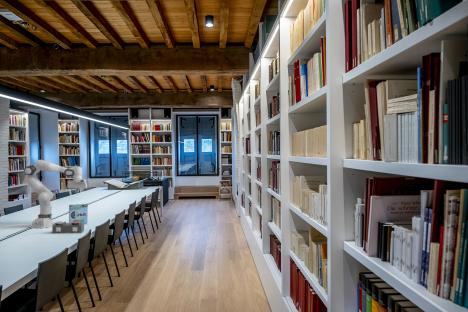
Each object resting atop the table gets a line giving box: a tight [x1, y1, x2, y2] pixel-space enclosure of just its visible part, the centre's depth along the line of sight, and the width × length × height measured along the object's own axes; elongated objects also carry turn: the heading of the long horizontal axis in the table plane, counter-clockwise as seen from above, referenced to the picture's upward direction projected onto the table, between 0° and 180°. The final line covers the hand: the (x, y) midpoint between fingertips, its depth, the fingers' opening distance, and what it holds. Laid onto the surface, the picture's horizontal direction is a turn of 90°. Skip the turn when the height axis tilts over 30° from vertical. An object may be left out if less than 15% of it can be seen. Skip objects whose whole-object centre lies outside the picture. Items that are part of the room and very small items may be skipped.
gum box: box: [68, 203, 89, 225], centre depth 394 cm, size 20×5×23 cm, turn 123°
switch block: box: [51, 221, 85, 234], centre depth 353 cm, size 28×10×10 cm, turn 98°
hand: (77, 192), depth 378 cm, fingers closed
